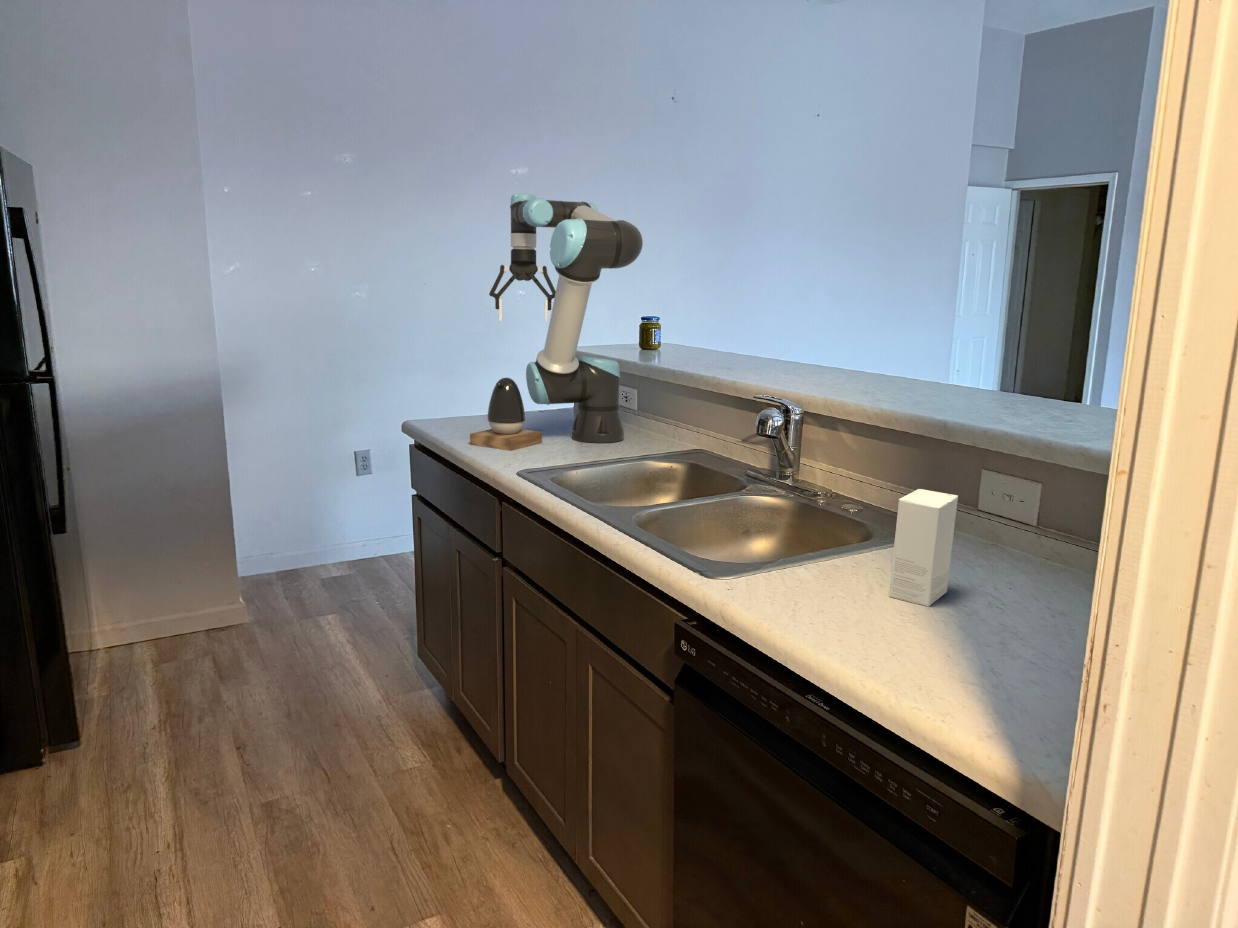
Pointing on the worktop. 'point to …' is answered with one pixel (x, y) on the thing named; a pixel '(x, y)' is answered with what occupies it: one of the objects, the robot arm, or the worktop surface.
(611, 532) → the worktop surface
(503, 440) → the walnut stand
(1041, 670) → the worktop surface
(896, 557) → the skincare box
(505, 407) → the glossy black egg shape
